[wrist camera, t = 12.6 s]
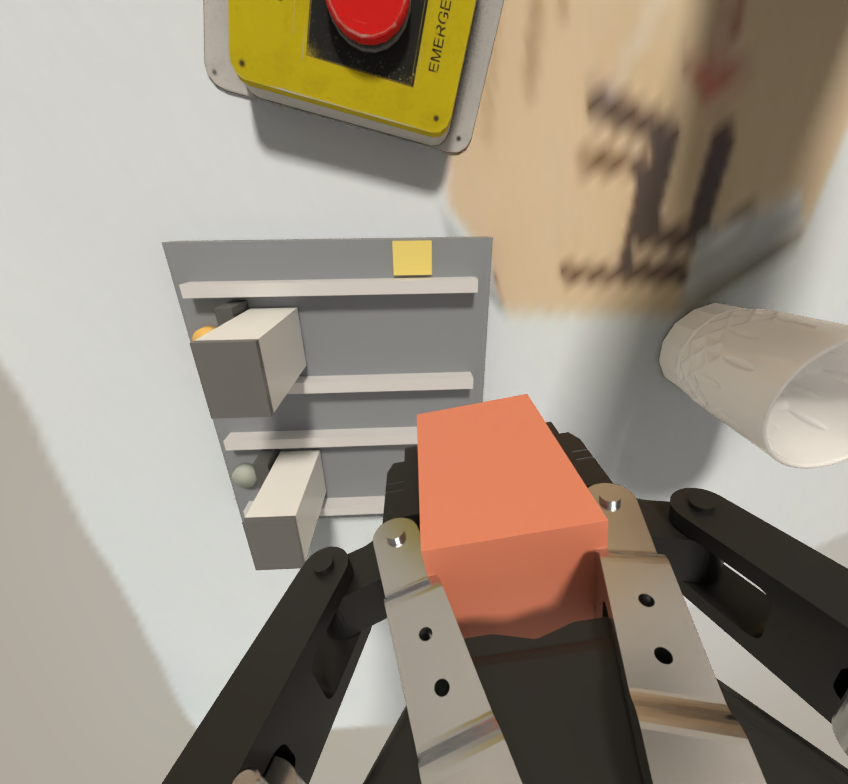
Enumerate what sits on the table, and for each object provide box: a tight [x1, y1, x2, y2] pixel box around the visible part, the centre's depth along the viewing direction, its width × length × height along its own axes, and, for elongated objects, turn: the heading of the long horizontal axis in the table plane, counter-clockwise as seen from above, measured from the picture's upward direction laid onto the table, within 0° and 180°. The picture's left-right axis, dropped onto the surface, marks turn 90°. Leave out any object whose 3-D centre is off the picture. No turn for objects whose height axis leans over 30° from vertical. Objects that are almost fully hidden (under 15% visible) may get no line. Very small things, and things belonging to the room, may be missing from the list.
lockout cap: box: [417, 394, 608, 639], centre depth 11 cm, size 4×4×6 cm
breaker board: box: [162, 237, 493, 521], centre depth 27 cm, size 20×22×4 cm
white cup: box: [659, 303, 848, 468], centre depth 24 cm, size 8×8×10 cm
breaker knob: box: [242, 450, 326, 570], centre depth 26 cm, size 3×4×7 cm
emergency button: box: [203, 0, 504, 152], centre depth 18 cm, size 9×4×15 cm
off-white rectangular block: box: [190, 307, 306, 419], centre depth 21 cm, size 3×4×7 cm
